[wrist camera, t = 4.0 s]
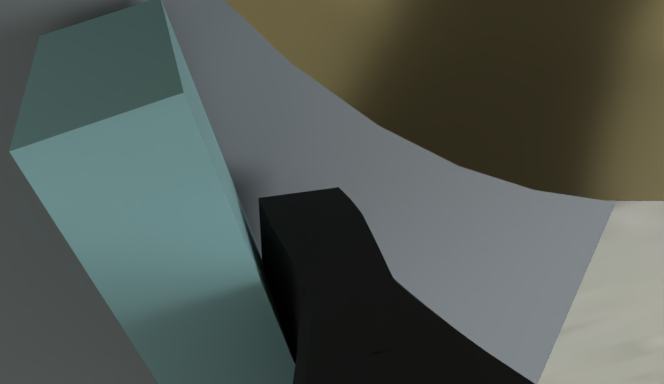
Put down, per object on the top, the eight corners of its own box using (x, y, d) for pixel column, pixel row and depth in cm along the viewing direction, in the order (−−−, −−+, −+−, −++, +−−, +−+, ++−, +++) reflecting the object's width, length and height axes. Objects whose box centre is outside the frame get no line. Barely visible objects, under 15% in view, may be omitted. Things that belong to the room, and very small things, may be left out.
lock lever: (345, 396, 12) (397, 531, 10) (227, 444, 12) (254, 594, 10) (202, -16, 7) (243, 72, 5) (-5, 50, 7) (-57, 173, 5)
